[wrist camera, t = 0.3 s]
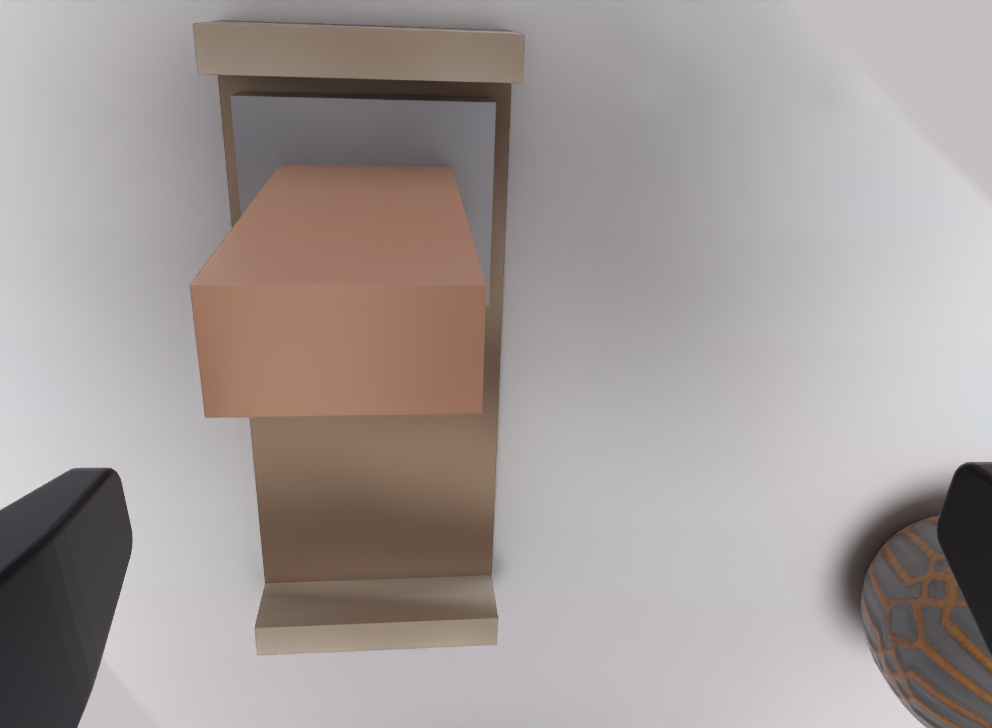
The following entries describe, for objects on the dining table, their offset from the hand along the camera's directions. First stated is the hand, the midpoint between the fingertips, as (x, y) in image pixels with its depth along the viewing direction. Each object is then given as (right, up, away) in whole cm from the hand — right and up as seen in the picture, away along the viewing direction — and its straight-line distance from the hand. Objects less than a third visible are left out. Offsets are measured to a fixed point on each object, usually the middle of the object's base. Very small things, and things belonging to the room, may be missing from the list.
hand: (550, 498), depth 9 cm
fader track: (-4, +2, +15) cm, 16 cm away
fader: (-4, +6, +12) cm, 14 cm away
